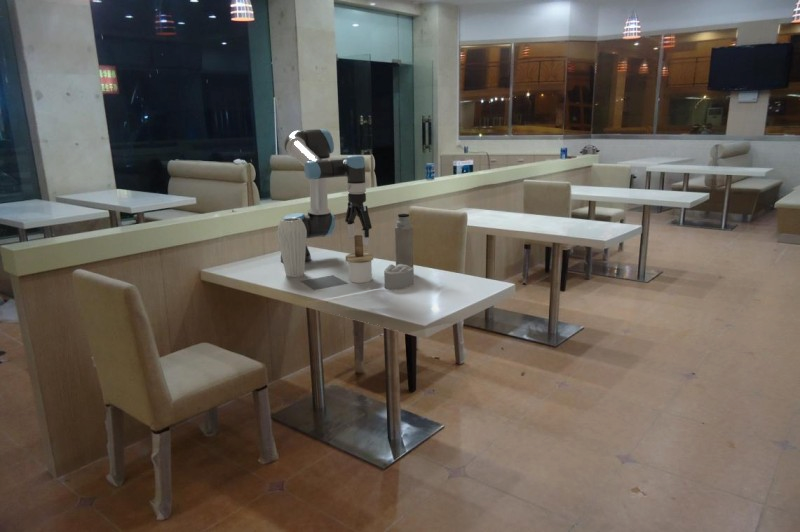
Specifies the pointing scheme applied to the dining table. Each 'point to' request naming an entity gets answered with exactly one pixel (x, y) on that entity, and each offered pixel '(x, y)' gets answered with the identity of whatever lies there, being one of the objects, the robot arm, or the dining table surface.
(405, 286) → the lumpy-topped squat cylinder
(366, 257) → the lid
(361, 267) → the cup
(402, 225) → the thermos bottle
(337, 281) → the mat
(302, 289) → the dining table surface
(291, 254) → the vase
